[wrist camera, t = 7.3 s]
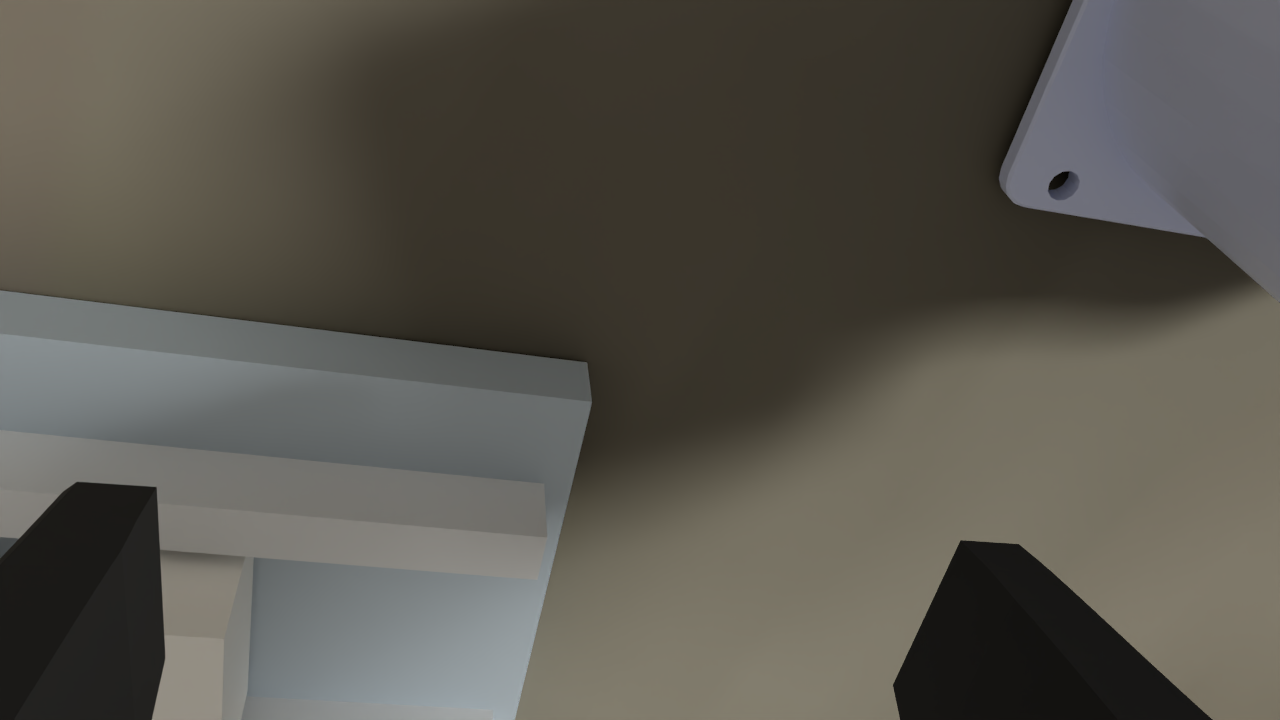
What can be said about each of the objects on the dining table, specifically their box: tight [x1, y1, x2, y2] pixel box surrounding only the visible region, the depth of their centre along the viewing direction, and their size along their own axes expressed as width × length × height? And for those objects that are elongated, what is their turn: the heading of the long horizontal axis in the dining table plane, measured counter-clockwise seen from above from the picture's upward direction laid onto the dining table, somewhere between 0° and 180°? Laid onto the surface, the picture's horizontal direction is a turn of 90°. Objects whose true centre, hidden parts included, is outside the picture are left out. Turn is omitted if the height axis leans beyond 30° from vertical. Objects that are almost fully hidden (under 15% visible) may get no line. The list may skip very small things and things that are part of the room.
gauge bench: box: [0, 290, 592, 720], centre depth 19 cm, size 14×11×5 cm
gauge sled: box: [152, 550, 254, 720], centre depth 18 cm, size 5×5×4 cm
